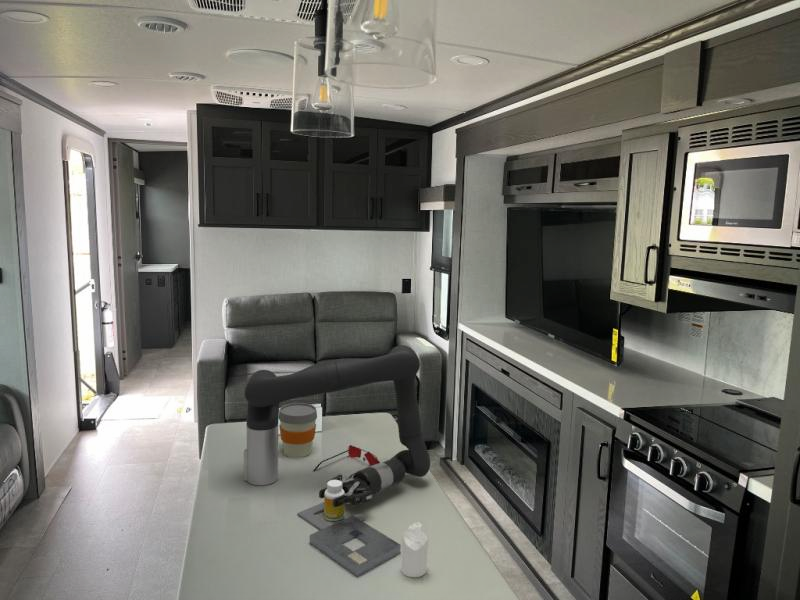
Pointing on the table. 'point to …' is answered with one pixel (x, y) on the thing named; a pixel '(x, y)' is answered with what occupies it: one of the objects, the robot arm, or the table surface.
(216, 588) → the table surface
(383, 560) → the socket block
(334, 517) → the supplement bottle
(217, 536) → the table surface
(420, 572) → the white plastic bottle
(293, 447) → the reusable coffee cup
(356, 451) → the glasses
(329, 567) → the table surface
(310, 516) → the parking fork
